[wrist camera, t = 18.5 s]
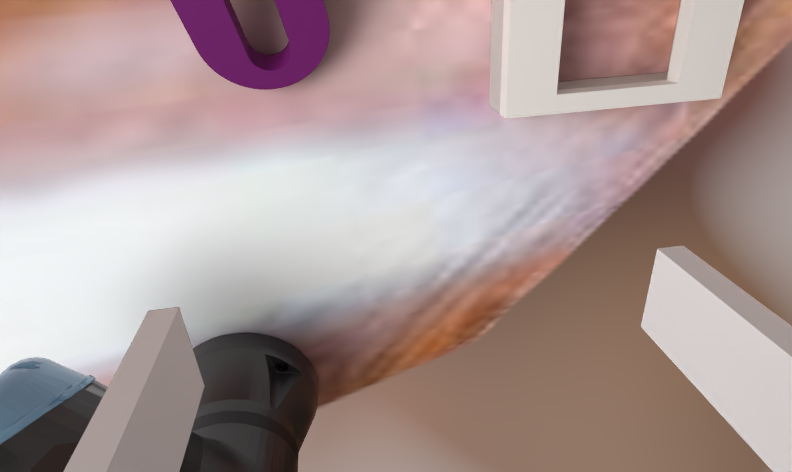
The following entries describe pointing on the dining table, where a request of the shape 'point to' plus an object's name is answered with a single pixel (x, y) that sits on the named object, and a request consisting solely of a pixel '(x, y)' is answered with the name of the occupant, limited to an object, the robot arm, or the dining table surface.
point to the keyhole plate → (543, 95)
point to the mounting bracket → (237, 61)
